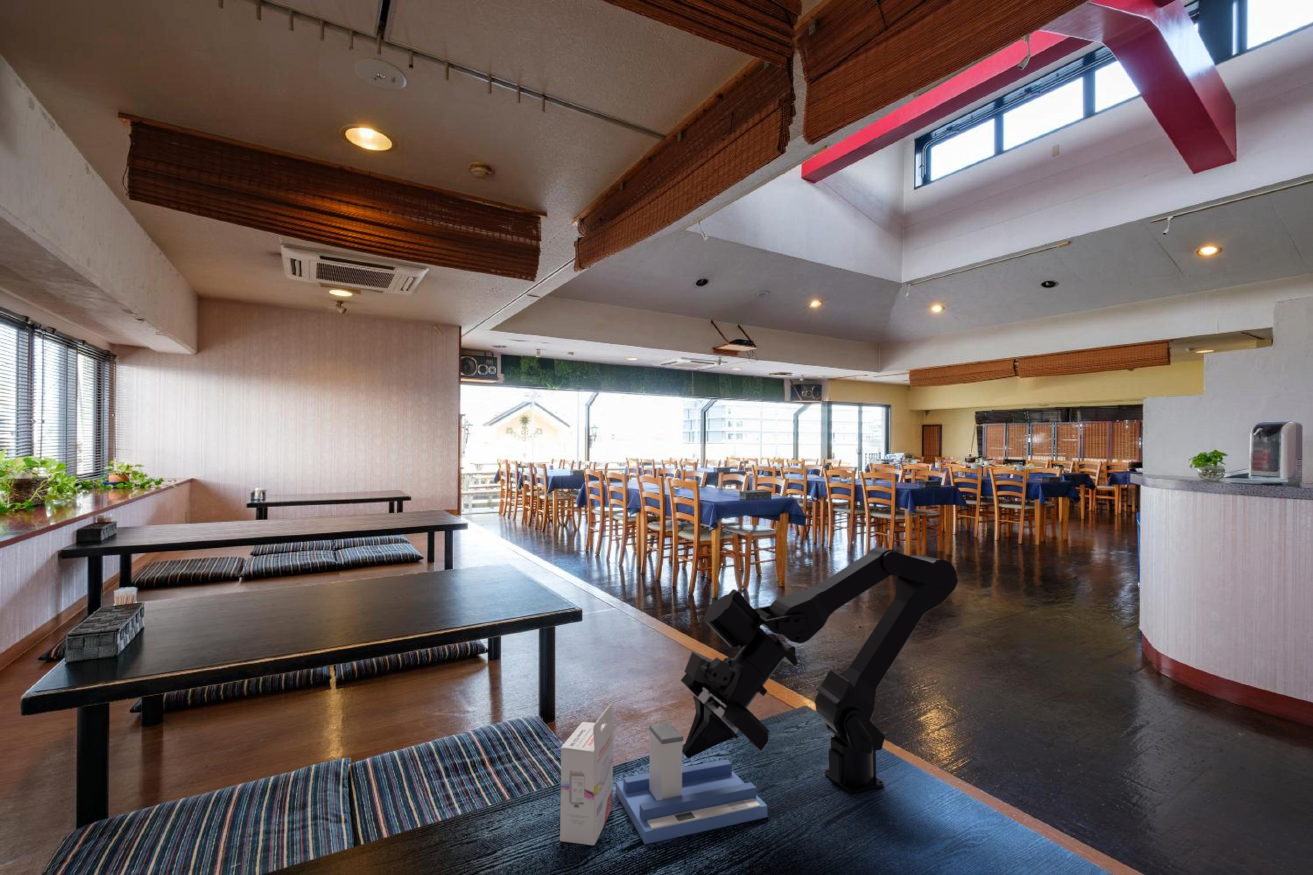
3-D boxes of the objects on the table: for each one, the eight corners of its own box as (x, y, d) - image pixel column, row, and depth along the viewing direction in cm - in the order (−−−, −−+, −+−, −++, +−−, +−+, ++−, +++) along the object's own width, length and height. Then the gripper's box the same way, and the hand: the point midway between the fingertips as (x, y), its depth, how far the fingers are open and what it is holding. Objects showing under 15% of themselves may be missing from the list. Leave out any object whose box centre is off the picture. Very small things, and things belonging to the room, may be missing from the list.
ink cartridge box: (579, 805, 81) (581, 698, 82) (613, 809, 80) (615, 701, 81) (557, 842, 73) (560, 722, 74) (594, 847, 72) (596, 726, 73)
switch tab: (668, 785, 84) (669, 721, 84) (682, 803, 79) (683, 736, 80) (648, 789, 83) (649, 724, 83) (661, 808, 78) (661, 739, 78)
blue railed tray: (723, 772, 91) (723, 752, 91) (767, 816, 79) (767, 794, 79) (615, 792, 85) (616, 771, 85) (644, 844, 73) (645, 819, 73)
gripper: (692, 619, 94) (627, 696, 89) (749, 650, 77) (673, 748, 72) (734, 663, 96) (674, 741, 91) (799, 702, 79) (729, 802, 74)
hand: (685, 755), depth 82 cm, fingers closed
